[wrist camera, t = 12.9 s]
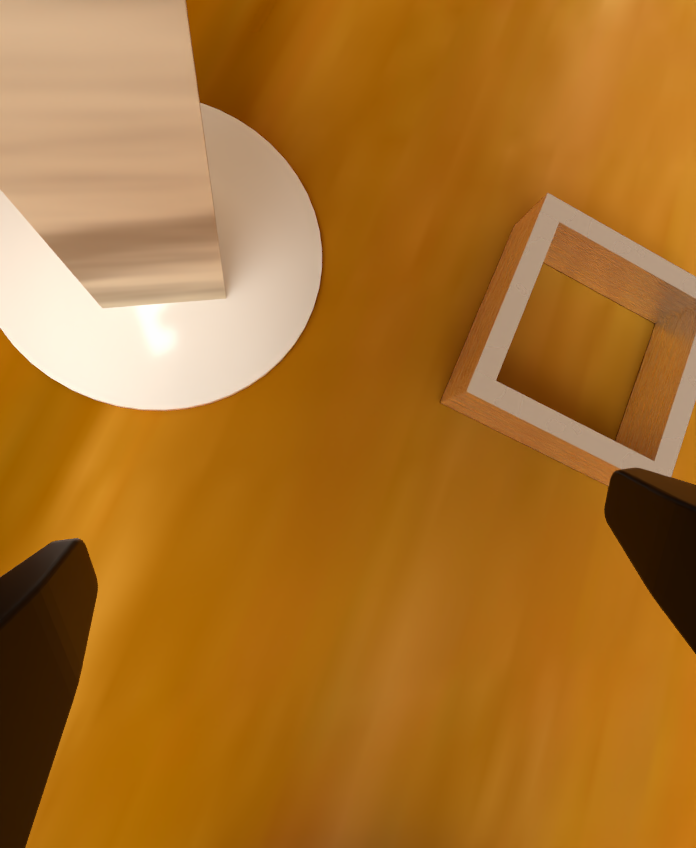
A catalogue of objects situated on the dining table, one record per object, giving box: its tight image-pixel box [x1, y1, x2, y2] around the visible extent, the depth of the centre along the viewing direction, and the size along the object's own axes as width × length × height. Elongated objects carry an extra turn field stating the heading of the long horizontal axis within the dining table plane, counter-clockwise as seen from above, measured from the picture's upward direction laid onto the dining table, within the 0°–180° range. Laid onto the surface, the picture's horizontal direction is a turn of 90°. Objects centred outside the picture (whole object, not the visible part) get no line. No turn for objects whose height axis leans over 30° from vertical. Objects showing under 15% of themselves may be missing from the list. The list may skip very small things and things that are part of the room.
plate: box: [0, 103, 322, 411], centre depth 22 cm, size 14×14×1 cm
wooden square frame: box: [440, 193, 696, 486], centre depth 24 cm, size 10×10×3 cm
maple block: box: [0, 0, 226, 308], centre depth 15 cm, size 5×5×14 cm
